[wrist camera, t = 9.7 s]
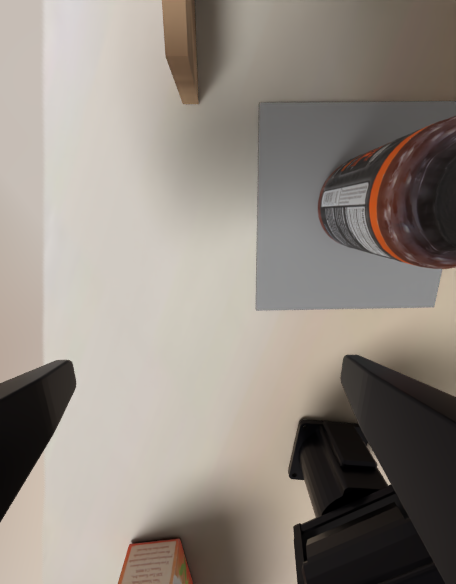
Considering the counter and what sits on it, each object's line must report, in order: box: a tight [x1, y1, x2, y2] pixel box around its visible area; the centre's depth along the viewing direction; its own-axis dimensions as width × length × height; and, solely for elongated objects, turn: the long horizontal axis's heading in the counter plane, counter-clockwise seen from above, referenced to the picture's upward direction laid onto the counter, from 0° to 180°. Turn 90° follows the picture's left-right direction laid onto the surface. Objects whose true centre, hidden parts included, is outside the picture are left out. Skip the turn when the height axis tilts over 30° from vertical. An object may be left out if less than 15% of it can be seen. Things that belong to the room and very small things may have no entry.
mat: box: [256, 101, 456, 311], centre depth 19 cm, size 14×14×1 cm
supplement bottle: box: [318, 116, 456, 269], centre depth 13 cm, size 6×6×11 cm
